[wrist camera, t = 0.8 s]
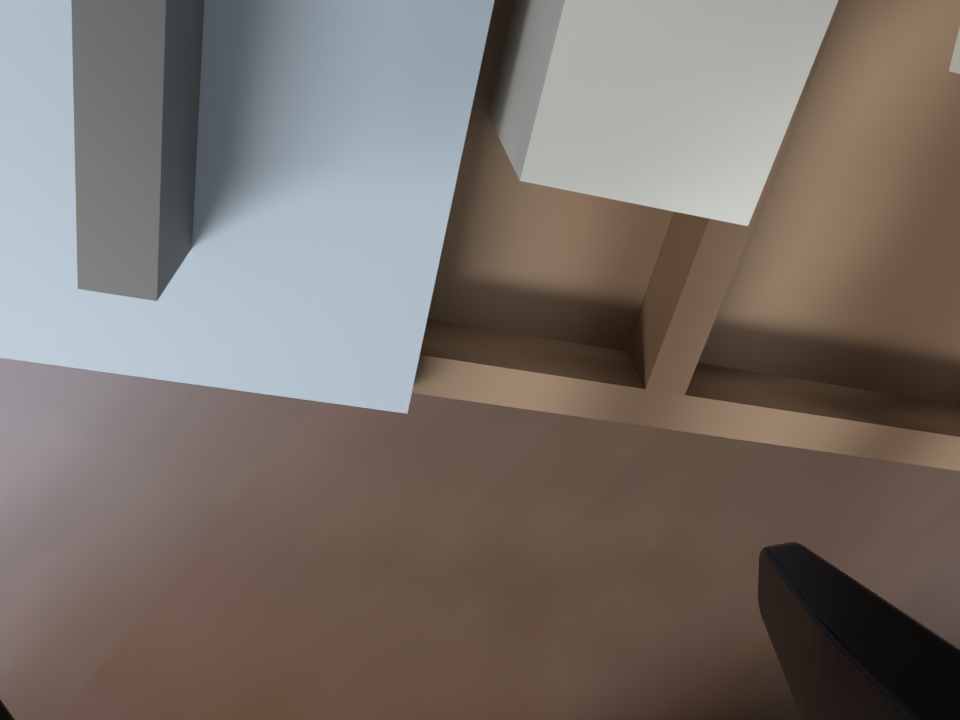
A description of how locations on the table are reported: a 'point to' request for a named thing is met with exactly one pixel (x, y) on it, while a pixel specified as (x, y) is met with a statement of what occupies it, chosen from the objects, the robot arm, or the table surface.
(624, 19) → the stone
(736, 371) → the bins
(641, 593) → the table surface
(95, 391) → the table surface
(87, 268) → the lid
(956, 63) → the pale grey cube
